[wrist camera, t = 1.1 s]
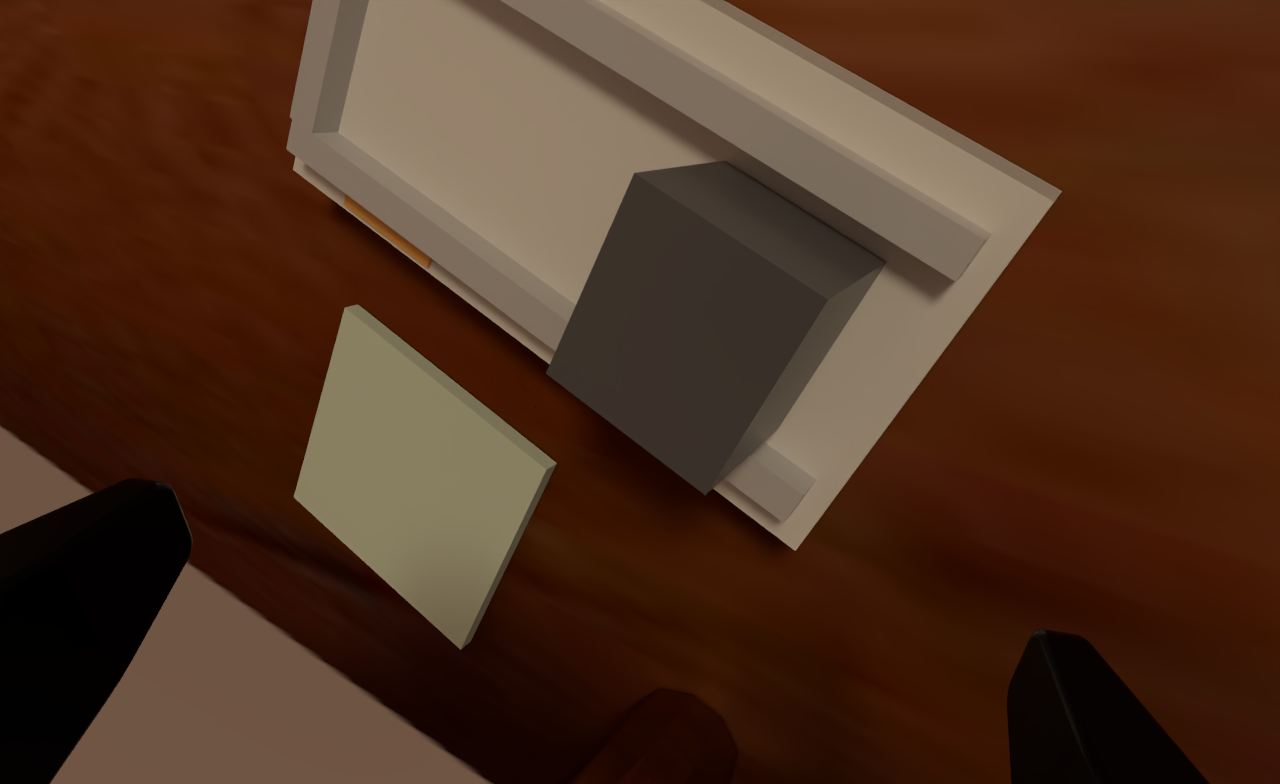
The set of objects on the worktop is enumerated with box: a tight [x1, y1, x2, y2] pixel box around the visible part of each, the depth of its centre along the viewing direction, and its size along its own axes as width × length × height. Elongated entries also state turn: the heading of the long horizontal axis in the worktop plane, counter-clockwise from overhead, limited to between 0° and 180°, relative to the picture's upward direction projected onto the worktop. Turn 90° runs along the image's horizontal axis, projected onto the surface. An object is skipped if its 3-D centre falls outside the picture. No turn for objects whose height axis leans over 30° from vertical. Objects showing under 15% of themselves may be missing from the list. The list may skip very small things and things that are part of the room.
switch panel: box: [286, 0, 1062, 551], centre depth 18 cm, size 16×8×3 cm, turn 63°
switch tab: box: [546, 161, 887, 496], centre depth 15 cm, size 4×4×4 cm
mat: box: [294, 305, 557, 650], centre depth 26 cm, size 8×8×1 cm
